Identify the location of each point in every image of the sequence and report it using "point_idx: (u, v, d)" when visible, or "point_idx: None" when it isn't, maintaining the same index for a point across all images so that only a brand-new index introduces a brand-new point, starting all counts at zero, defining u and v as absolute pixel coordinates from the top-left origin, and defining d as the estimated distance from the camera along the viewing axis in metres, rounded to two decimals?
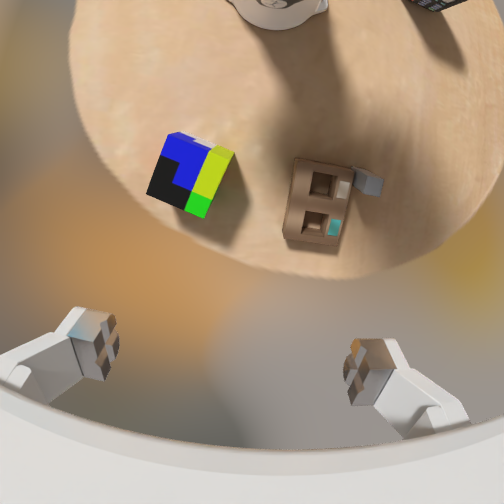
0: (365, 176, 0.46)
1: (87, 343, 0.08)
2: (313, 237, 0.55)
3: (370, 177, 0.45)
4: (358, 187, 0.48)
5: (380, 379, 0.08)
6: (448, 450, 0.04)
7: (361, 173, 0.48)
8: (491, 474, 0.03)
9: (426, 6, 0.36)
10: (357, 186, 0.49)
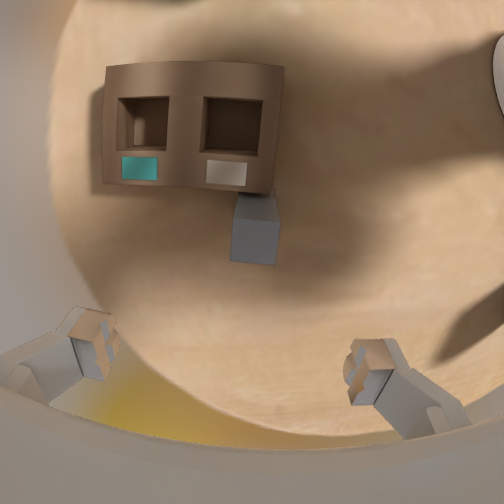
0: (276, 217, 0.20)
1: (87, 343, 0.08)
2: (113, 127, 0.21)
3: (276, 230, 0.20)
4: (240, 205, 0.22)
5: (380, 379, 0.08)
6: (448, 450, 0.04)
7: (274, 208, 0.22)
8: (491, 474, 0.03)
9: None
10: (241, 203, 0.22)
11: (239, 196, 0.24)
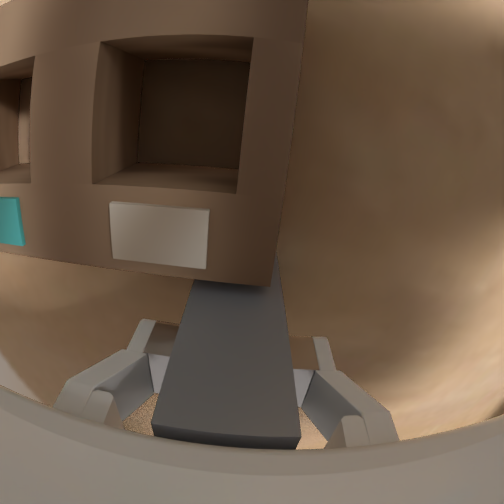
0: (286, 405, 0.06)
1: (168, 359, 0.08)
2: None
3: (286, 448, 0.06)
4: (188, 337, 0.08)
5: (302, 380, 0.08)
6: (448, 450, 0.04)
7: (281, 344, 0.08)
8: (491, 474, 0.03)
9: None
10: (193, 324, 0.08)
11: (195, 287, 0.10)
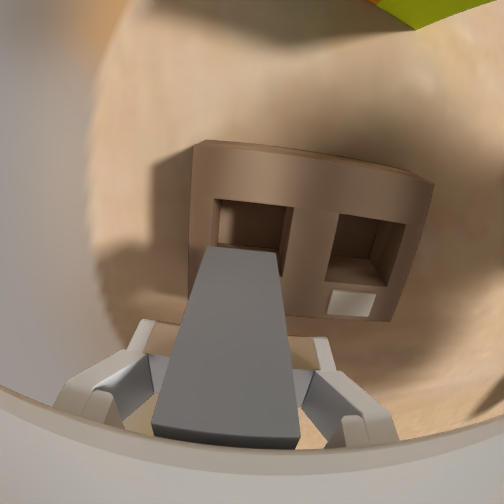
0: (286, 405, 0.06)
1: (168, 359, 0.08)
2: (206, 239, 0.18)
3: (286, 448, 0.06)
4: (188, 339, 0.08)
5: (302, 380, 0.08)
6: (448, 450, 0.04)
7: (280, 345, 0.08)
8: (491, 474, 0.03)
9: None
10: (193, 326, 0.08)
11: (195, 289, 0.10)
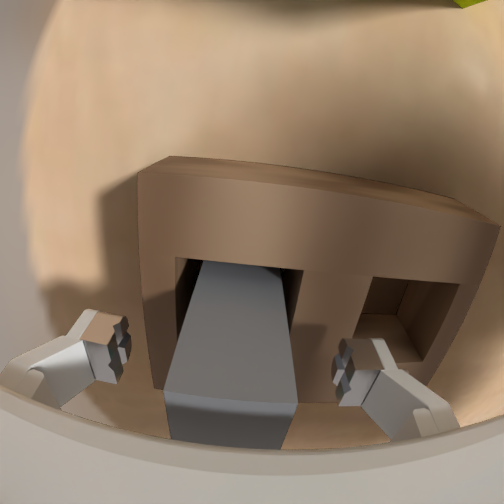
0: (284, 376, 0.07)
1: (101, 347, 0.08)
2: (168, 314, 0.11)
3: (285, 416, 0.06)
4: (196, 318, 0.09)
5: (367, 380, 0.08)
6: (448, 450, 0.04)
7: (280, 325, 0.09)
8: (491, 474, 0.03)
9: None
10: (200, 307, 0.09)
11: (201, 275, 0.11)
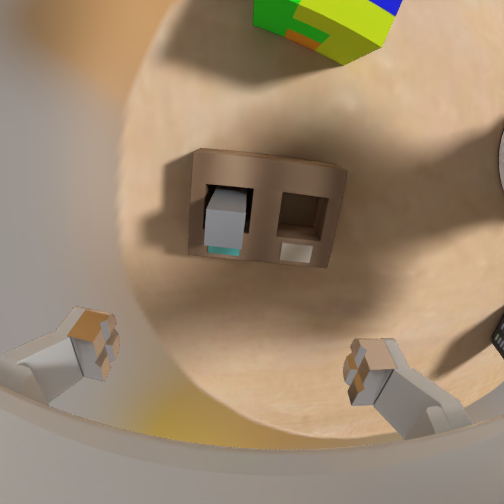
0: (242, 209, 0.24)
1: (87, 343, 0.08)
2: (200, 209, 0.28)
3: (242, 219, 0.24)
4: (214, 199, 0.26)
5: (380, 379, 0.08)
6: (448, 450, 0.04)
7: (243, 202, 0.26)
8: (491, 474, 0.03)
9: (499, 331, 0.40)
10: (215, 198, 0.26)
11: (215, 192, 0.28)
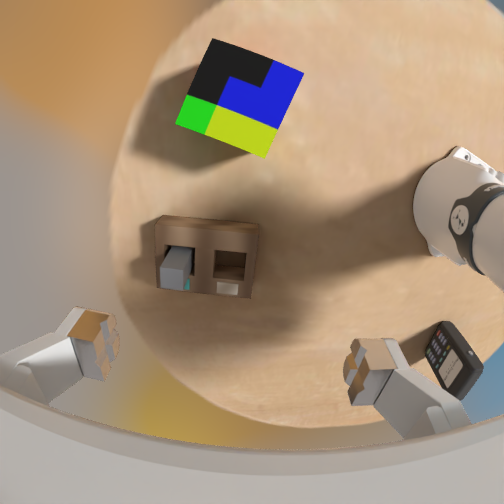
0: (182, 266, 0.38)
1: (87, 343, 0.08)
2: (162, 260, 0.42)
3: (181, 273, 0.38)
4: (168, 257, 0.40)
5: (380, 379, 0.08)
6: (448, 450, 0.04)
7: (186, 259, 0.40)
8: (491, 474, 0.03)
9: (430, 346, 0.53)
10: (169, 255, 0.40)
11: (171, 249, 0.42)
